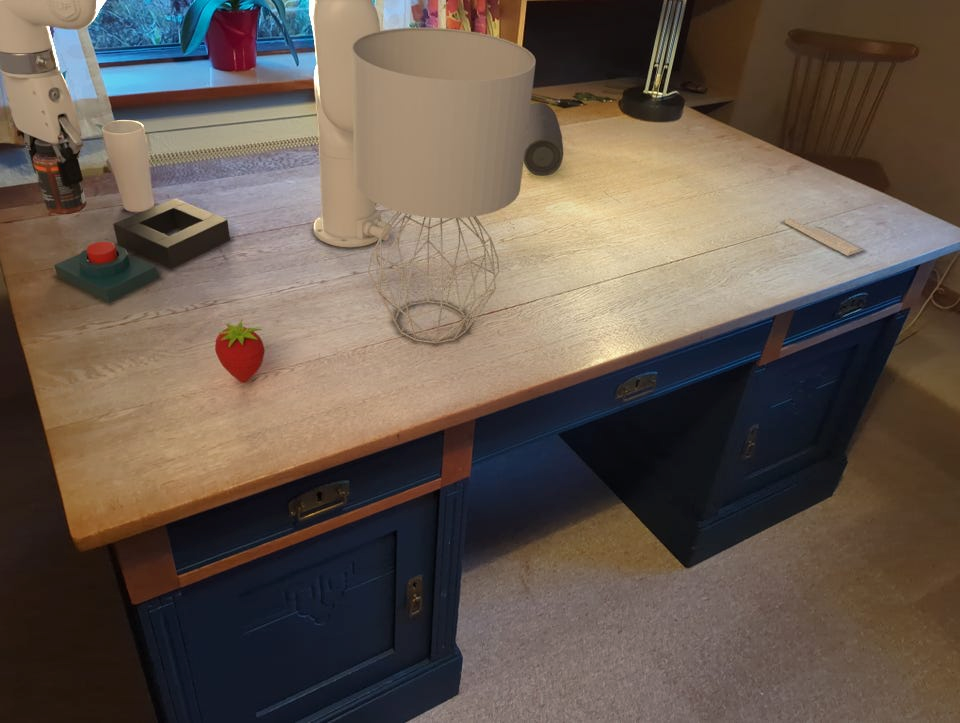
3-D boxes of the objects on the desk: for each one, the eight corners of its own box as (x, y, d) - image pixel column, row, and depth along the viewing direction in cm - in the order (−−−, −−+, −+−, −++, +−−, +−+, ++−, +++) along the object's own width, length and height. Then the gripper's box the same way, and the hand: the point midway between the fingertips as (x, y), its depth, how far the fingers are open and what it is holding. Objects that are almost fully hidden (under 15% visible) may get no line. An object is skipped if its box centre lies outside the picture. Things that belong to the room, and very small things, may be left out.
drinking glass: (146, 218, 136) (129, 136, 127) (111, 211, 137) (92, 130, 127) (166, 202, 141) (151, 123, 132) (132, 196, 142) (115, 117, 133)
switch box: (158, 278, 120) (153, 256, 118) (109, 303, 114) (103, 280, 112) (107, 254, 125) (102, 233, 122) (57, 277, 118) (50, 254, 116)
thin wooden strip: (800, 218, 158) (802, 213, 157) (862, 251, 148) (864, 246, 147) (784, 222, 155) (786, 217, 155) (846, 256, 146) (849, 251, 145)
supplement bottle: (95, 204, 125) (79, 137, 118) (68, 219, 120) (50, 150, 113) (65, 196, 126) (48, 130, 119) (38, 211, 122) (18, 142, 115)
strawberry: (253, 359, 106) (245, 298, 100) (277, 388, 101) (270, 327, 95) (211, 373, 103) (201, 311, 97) (234, 403, 98) (225, 341, 92)
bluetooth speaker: (561, 183, 162) (568, 138, 156) (518, 180, 162) (524, 134, 156) (555, 144, 180) (561, 101, 174) (516, 140, 180) (520, 98, 174)
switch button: (123, 256, 118) (120, 246, 117) (100, 267, 115) (98, 257, 114) (105, 248, 119) (103, 238, 118) (83, 258, 117) (80, 248, 116)
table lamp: (383, 379, 105) (384, 85, 81) (340, 295, 121) (330, 29, 97) (527, 350, 113) (568, 76, 89) (469, 275, 129) (490, 25, 105)
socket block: (230, 240, 132) (227, 219, 129) (171, 269, 123) (167, 247, 120) (178, 218, 137) (174, 197, 134) (117, 245, 128) (112, 223, 125)
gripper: (90, 68, 109) (116, 185, 120) (15, 42, 115) (46, 156, 126) (41, 79, 103) (73, 201, 114) (-35, 52, 110) (2, 170, 121)
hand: (59, 176), depth 120 cm, fingers closed on supplement bottle, 6 cm apart
